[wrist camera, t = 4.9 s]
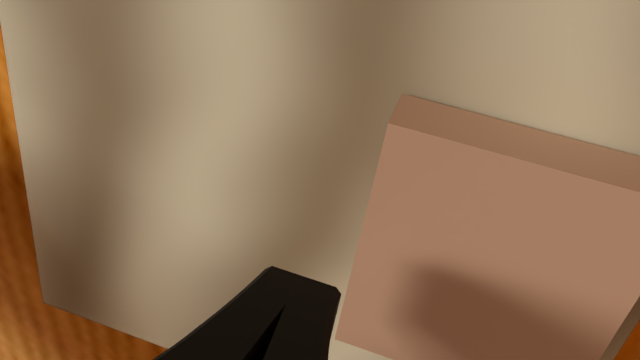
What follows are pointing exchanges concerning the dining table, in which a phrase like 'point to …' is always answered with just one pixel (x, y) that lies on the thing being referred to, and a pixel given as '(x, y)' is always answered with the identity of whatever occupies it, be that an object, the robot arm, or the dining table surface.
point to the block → (492, 242)
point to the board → (269, 131)
